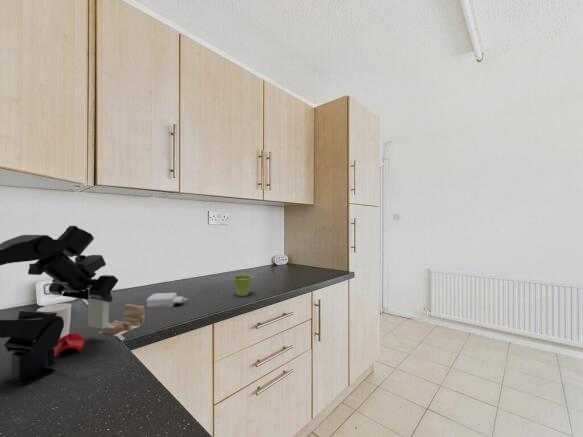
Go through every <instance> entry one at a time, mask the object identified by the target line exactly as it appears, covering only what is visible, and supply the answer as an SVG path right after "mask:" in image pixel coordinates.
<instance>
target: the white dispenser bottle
mask: <svg viewBox="0 0 583 437" xmlns="http://www.w3.org/2000/svg"><path fill="white" fill-rule="evenodd" d="M188 300H189V298H188V297H184V296H178V294H177V292H159V293H152V294H151V295H150V296H148V297H147V300H146V308H148V307H149V308H152V307H154V308H155V307H163V308H164V307H165V308H173V307H174V306H175V305H176V304H182V303H183V302H184V301H188Z"/></svg>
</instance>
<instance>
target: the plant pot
mask: <svg viewBox="0 0 583 437" xmlns="http://www.w3.org/2000/svg"><path fill="white" fill-rule="evenodd" d="M232 279H233V280H234V285H235V294H236V296H240V297H247V296H248V295H250V290H251V283H252V279H253V276H252V275H248V274H247V275H246V274H244V275H243V274H242V275H235V276H233V278H232Z"/></svg>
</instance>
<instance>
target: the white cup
mask: <svg viewBox="0 0 583 437" xmlns="http://www.w3.org/2000/svg"><path fill="white" fill-rule="evenodd" d="M36 311H41V312H52V313H57V314H56V315H55V316H61V317H62V318H63V320H64V327H63V330H62V333H61V335H60V338H59V339H61V338H62V337H64V336H66V335H69V334H70V326H71V317H72V316H71V315H72V314H71V312H72V304H71V303H56V304H55V303H54V304H51V305H49V304H48V305H45V306H42V307H39V308H38V309H37V310H36Z"/></svg>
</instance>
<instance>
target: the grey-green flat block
mask: <svg viewBox="0 0 583 437" xmlns="http://www.w3.org/2000/svg"><path fill="white" fill-rule="evenodd" d="M98 278H99V277H92V278H91V279H96V280H97V279H98ZM89 289H90V288H88V300H87V327H90V328H91V327H92V328H97V329H101V330H102V329H103V328H105V327H108V326H109V324H110V323H109V320H110V319H109V314H110V313H109V312H110V308H109V307H110V306H109V303H110V302H106V301H101V300H96V299H91V296H90V295H89Z"/></svg>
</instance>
